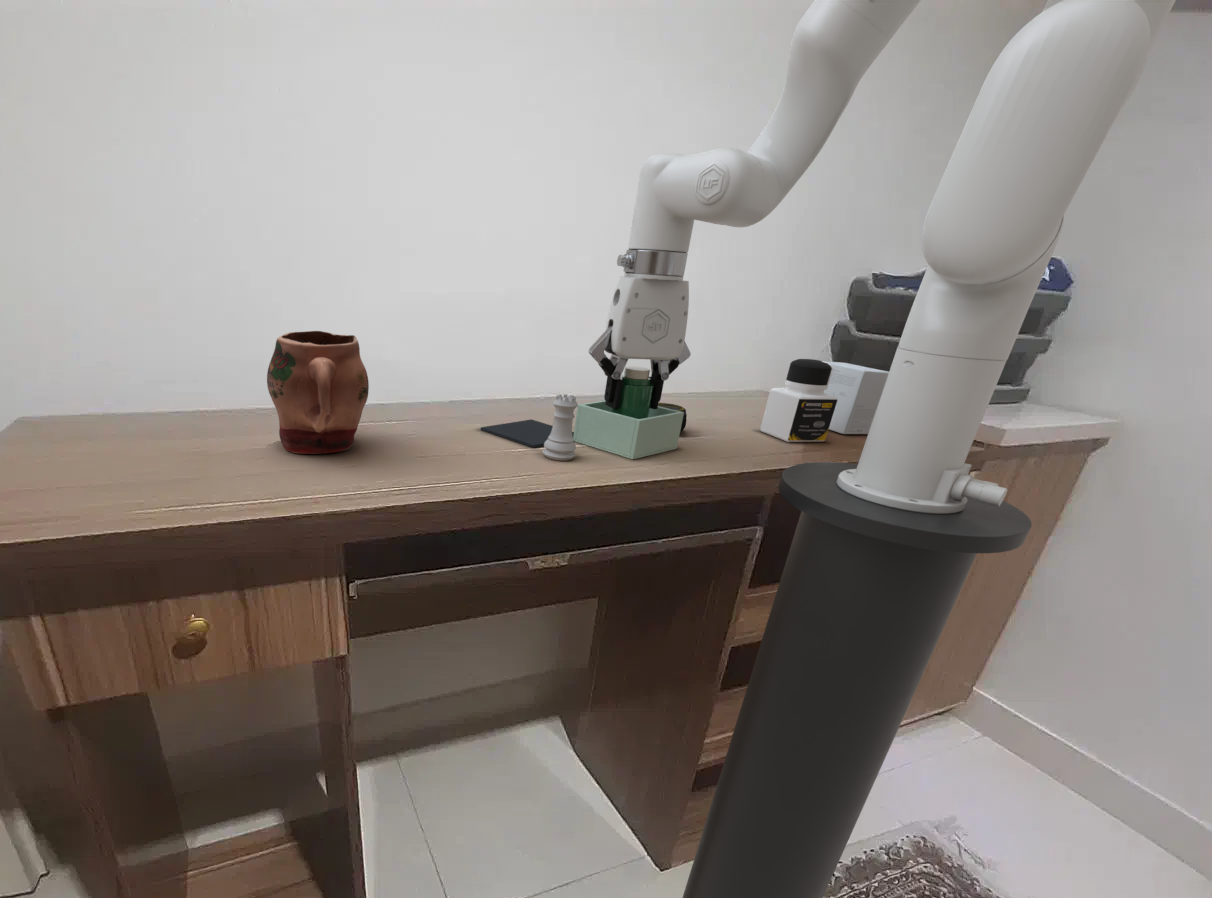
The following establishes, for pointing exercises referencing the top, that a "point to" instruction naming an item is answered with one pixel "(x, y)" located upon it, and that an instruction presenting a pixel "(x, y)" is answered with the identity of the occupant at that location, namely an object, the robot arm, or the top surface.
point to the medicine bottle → (801, 404)
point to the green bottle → (635, 393)
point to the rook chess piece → (562, 430)
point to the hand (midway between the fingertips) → (631, 405)
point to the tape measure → (677, 408)
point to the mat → (523, 432)
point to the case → (627, 430)
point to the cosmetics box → (855, 396)
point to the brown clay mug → (317, 390)
